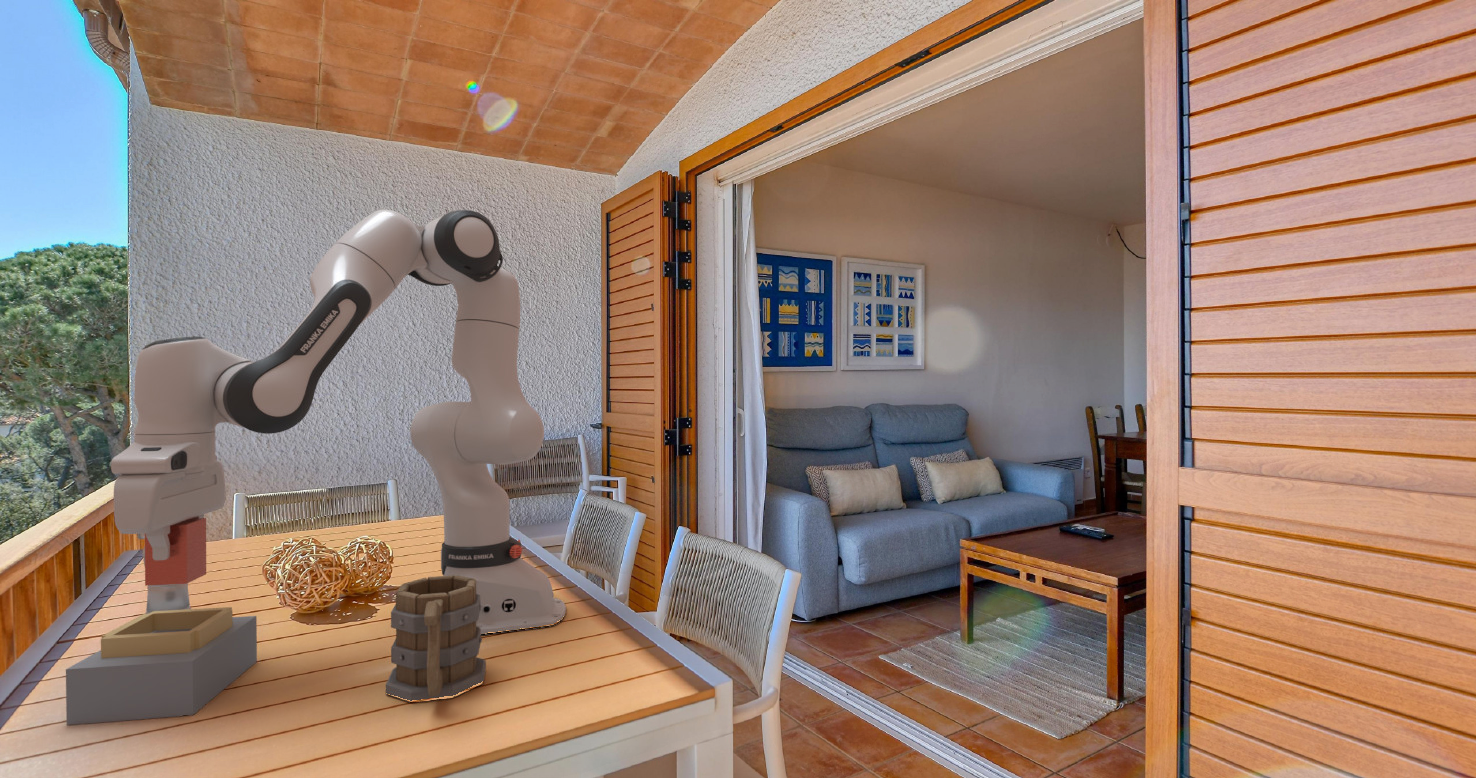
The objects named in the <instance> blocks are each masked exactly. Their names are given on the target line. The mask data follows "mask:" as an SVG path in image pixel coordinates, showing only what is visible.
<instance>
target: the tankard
mask: <svg viewBox="0 0 1476 778" xmlns="http://www.w3.org/2000/svg"><path fill="white" fill-rule="evenodd" d="M481 609H482V606H481V597H480V595H479V594H476V580H475V579H473V578H468V577H463V576H458V575H457V576H455V575H451V576H443V575H438V576H428V577H422V578H419V579H416V580H412V581H408V582H404V583H402V584H401V585H400V586H399V588H398V590H397V591H396V592H395V605H394V606H393V608H392V609H391V611H390V627H391V628H392V629H394V630H395V640H394V641H393V642H392V646H391V648H390V653H391V654H390V656H391V658H390V659H391V661H390V662H391V664H394V665H395V667H394V668H393V669H392V670H391V673H390V674H389V676H388V679H387V681H386V683H385V694H386V693H387V694H390V695H394V696H398V697H400V698H403V699H407V700H410V701H412V700H421V699H429V698H439V697H444V696H453V695H456V694H458V693H459V692H462V691H464V690H465V689H468V688H470V687H472V686H473V685H476V684H478V683H481V682H482V681H484V682H485V677H484V675H485V676H486V671H485V669H486V668H487V665H486V664H487V660H485V659H484V658H481V657H478V655H479V653H480V650H481V649H480V647H481V643H482V642H483V638H482V635H481V628H479V627H476V621H477V620H478V619H479V614H480V610H481ZM486 670H487V669H486ZM387 694H386V695H387Z"/></svg>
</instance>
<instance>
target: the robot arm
mask: <svg viewBox="0 0 1476 778" xmlns="http://www.w3.org/2000/svg"><path fill="white" fill-rule="evenodd" d="M500 247H501V246H500V240H499V236H498V233H497V230H496V228H495V227H494V225H493V223H492V222H491V221H490V219H488V218H487V217H486V216H484V215H483V214H482V213H480V212H477V211H474V210H469V209H459V210H452V211H449V212H447V213H446V214H444V215H441V216H439V217H438V218H435V219H433V220H431V221H429V222H428V223H427V224H426V225H418V224H416V223H414V222H412V220H411V219H410V218H408V217H407V216H406V215H403V213H401V212H398V211H395V210H392V209H385V208H384V209H378V210H375V211H373V212H372V213H370V214H368V215H367V216H365V217H364V218H363V219H361V220H360V221H358V222H357V223H355V225H354V226H352V227H351V228H350V229H348V231H346V232H345V233H344V234H343V235H342V236H341V237H340V238H339V239H338V240H337V241H336V242H335V243H334V244H333V245H332V246H331V247H330V248H329V249H328V250H327V252H326V253H324V255H323V256H322V257H321V259H320V260H319V262H317V265H316V266H315V268H314V270H313V272H312V273H311V275H310V278H309V282H310V283H309V284H310V289H311V292H312V295H313V296H314V302H313V305H312V307H311V309H310V310H309V312H308V313H307V314H306V316H305V317H304V318H303V319H302V320H301V321H300V322H299V324H298V325H296V327H295V329H294V330H293V331H292V332H291V333H290V334H289V335H288V336H287V338H286V339H285V340H284V342H283V343H282V344H281V345H280V346H279V348H278V349H276V350H275V351H274V352H273V353H271V354H269V355H267V356H266V357H263V358H262V359H259V360H255V361H253V360H251V359H248V358H246V357H242V356H239V355H237V354H235V353H232V352H230V351H228V350H226V349H224V348H222V347H220V346H218V345H216V344H215V343H213V342H211V341H210V340H209V339H208V338H206V337H203V336H185V337H175V338H167V339H160V340H159V339H158V340H156V341H152V342H150V343H148V344H147V345H145V346H144V347H143V348H142V349H141V350H140V352H139V354H138V357H137V362H136V366H135V376H134V405H135V407H136V409H137V415H138V416H137V417H138V419H137V422H136V423H137V424H136V425H135V429H134V442H132V443H131V444H130V445H129V446H127V448H125V449H124V450H123V451H122V452H119V453H118V454H117V455H115V456H114V457H113V458H112V459H111V463H110V465H111V466H110V467H111V468H110V469H111V473H112V474H114V475H119V476H117V477H116V480H115V481H114V485H113V513H114V514H113V515H114V524H115V527H116V528H117V530H118V532H119V533H120V534H121V535H137V534H143V533H146V537H147V539H148V541H149V543H150V545H151V547H152V552H153V559H154V560H166V559H168V558H171V557H172V556H173V555H174V552H173V550H174V545H170V542H169V538H168V535H167V534H170V526H171V525H174V524H177V523H180V522H183V521H186V520H188V519H192V518H205V515H206V514H208V513H212V512H214V511H217V510H221V509H223V508H224V506H225V503H226V498H227V497H226V483H225V482H226V481H225V480H226V479H225V473H224V472H225V471H224V467H223V464H222V462H221V461H219V460H218V456H217V455H216V426H218V424H222V423H228V424H231V425H234V426H238V427H239V428H244V429H247V430H249V431H251V432H254V433H258V434H264V435H265V434H266V435H267V434H268V435H269V434H277V433H282V432H286V431H288V430H290V429H291V428H293V427H295V426H297V425H299V423H300V422H301V421H302V420H303V419H304V418H305V417H306V416H307V414H308V413H309V411H310V408H311V407H312V404H313V400H314V397H315V393H316V389H317V387H318V383H319V380H320V379H321V377H322V375H323V374H324V372H325V371H326V369H327V368H328V367H329V366H330V364H331V363H332V362H333V360H334V359H335V357H337V355H338V354H339V352H340V351H341V350H342V349H343V348H344V346H345V345H346V343H347V342H348V341H349V340H350V338H351V337H352V335H353V334H354V333H355V331H356V330H357V329H358V328H359V327H360V325H361V324H362V323H364V321H365V320H366V319H368V317H369V316H371V314H373V313H374V312H375V311H376V310H377V309H378V308H379V307H380V306H381V305H382V304H383V303H384V302H385V301H386V300H387V299H388V298H389V297H390V295H391V294H392V293H393V292H394V291H395V290H396V288H398V286H399V285H400V284H401V283H402V281H403V279H405V277H407V276H410V277H412V278H414V279H416V280H417V281H419V282H420V283H422V284H426V285H428V286H433V287H444V286H448V285H451V284H452V286H453V289H454V290H455V292H456V293H455V294H456V297H457V298H456V299H457V304H458V305H457V306H458V307H457V310H456V311H457V312H456V316H455V317H456V319H455V324H454V325H455V326H454V334H453V344H452V353H451V354H452V355H451V364H452V367H453V369H454V371H455V372H456V373H457V374H459V376H461V377H462V378H464V379H465V380H466V382H467V384H468V388H469V391H470V401H443V402H439V403H435V404H431V405H426V406H424V407H422V408H421V409H419V410H418V411H417V413H416V414H415V415H414V417H413V419H412V422H411V425H410V429H409V431H410V441H411V443H412V446H413V448H414V449H415V451H416V452H418V454H420V456H421V457H423V458H424V459H425V460H426V462H427V463H428V466H429V467H430V468H431V471H432V472H433V474H434V476H435V479H436V482H437V485H438V487H439V491H440V495H441V499H442V507H443V510H442V511H443V529H444V530H443V536H444V537H443V539H444V541H443V542H442V543H441V549H440V568H441V574H442V576H451V575H455V576H457V575H458V576H463V577H468V578H473V579H475V580H476V594H479V595H480V597H481V606H482V609H481V610H480V614H479V619H478V620H477V621H476V627H479V628H481V634H485V633H488V632H498V631H506V630H516V629H520V628H521V629H522V628H530V627H539V626H543V625H549V624H554V623H556V622H557V621H559V620H561V619H562V618H563V616H564V615H565V612H566V613H567V610H566V603H565V602H564V601H563V600H562V599H559V598H556V597H555V596H554V591H553V586H552V583H551V580H550V579H549V577H548V575H546V574H545V572H542V570H539V569H538V568H536V567H535V566H533V565H532V564H530V563H529V562H528V561H526V560H525V559H523V558H522V553H523V548H522V543H521V540H520V539H518V540H517V539H515V538H513V537H511V536H510V498H509V495H508V493H507V492H506V490H505V489H504V488H503V487H501V486H500V484H498V483H497V482H495V480H494V479H493V477H492V476H491V474H490V471H489V468H488V465H501V466H503V465H504V466H506V465H511V464H517V463H521V462H527V461H530V460H532V459H533V458H535V457H536V456H537V454H538V453H539V451H540V449H541V447H542V445H543V443H544V438H545V427H544V423H543V420H542V418H541V416H540V414H539V413H538V412H537V411H536V409H534V408H533V407H532V406H531V405H530V403H529V402H528V400H527V399H526V397H525V395H524V394H523V391H522V388H521V385H520V381H519V376H518V351H519V336H520V326H521V325H520V323H521V298H520V297H521V296H520V289H519V286H520V285H519V282H518V279H516V276H514V275H513V274H512V272H510V271H508V270H506V269H505V268H503V267H502V265H503V262H504V258H503V255H502V254H503V253H502V252H501V248H500ZM499 261H500V262H499ZM498 263H499V264H498ZM565 616H566V615H565ZM485 635H486V634H485Z"/></svg>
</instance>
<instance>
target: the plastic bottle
mask: <svg viewBox="0 0 1476 778" xmlns="http://www.w3.org/2000/svg"><path fill="white" fill-rule="evenodd" d="M141 554H142V559H143V564H144V567H145V545H144V546H143V550H142V553H141ZM188 585H189V583H187V584H169V585H147V587H146V588H147V596H146V609H145V611H146V612H145V613H144V614H149V613H151V612H153V611H167V610H185V609H192V607H191V604H190V596H189V588H188V587H189V586H188Z"/></svg>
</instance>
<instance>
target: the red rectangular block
mask: <svg viewBox="0 0 1476 778" xmlns="http://www.w3.org/2000/svg"><path fill="white" fill-rule="evenodd" d="M167 535H168V538H169V542H170V545H174V550H173V552H174V555H173V556H172V557H171V558H168V559H166V560H154V559H153V552H152V547H151V545H150V543H149V541H148V539H147V537H146V533H143V534H136V538H137V539H138V540H144V546H145V566H144V583H145V584H144V585H145V587H146V586H148V585H169V584H187V583H188V584H189V583H191V582H193V581H195V580H197V579H199V578H202V577H203V576H205V575H207V517H204V518H192V519H188V520H186V521H183V522H180V523H177V524H174V525H171V526H170V534H167Z"/></svg>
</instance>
